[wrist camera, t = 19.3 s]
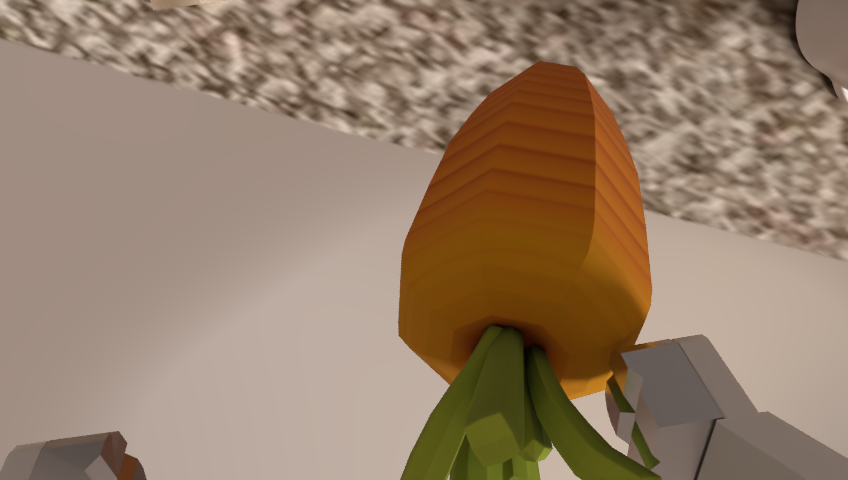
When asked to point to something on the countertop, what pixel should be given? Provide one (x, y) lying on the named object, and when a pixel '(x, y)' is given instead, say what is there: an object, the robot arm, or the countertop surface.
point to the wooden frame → (178, 3)
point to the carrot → (526, 282)
